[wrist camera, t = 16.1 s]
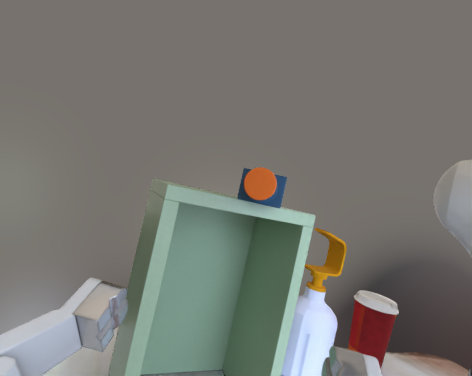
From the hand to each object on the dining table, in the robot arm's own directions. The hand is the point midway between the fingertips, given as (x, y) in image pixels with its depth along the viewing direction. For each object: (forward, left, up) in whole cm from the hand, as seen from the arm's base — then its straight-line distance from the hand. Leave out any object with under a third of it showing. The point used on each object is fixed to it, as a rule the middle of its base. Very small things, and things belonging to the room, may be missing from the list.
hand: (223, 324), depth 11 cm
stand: (-6, -24, -23) cm, 33 cm away
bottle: (-8, -18, +4) cm, 20 cm away
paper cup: (-41, -30, -23) cm, 56 cm away
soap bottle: (-27, -30, -23) cm, 46 cm away
